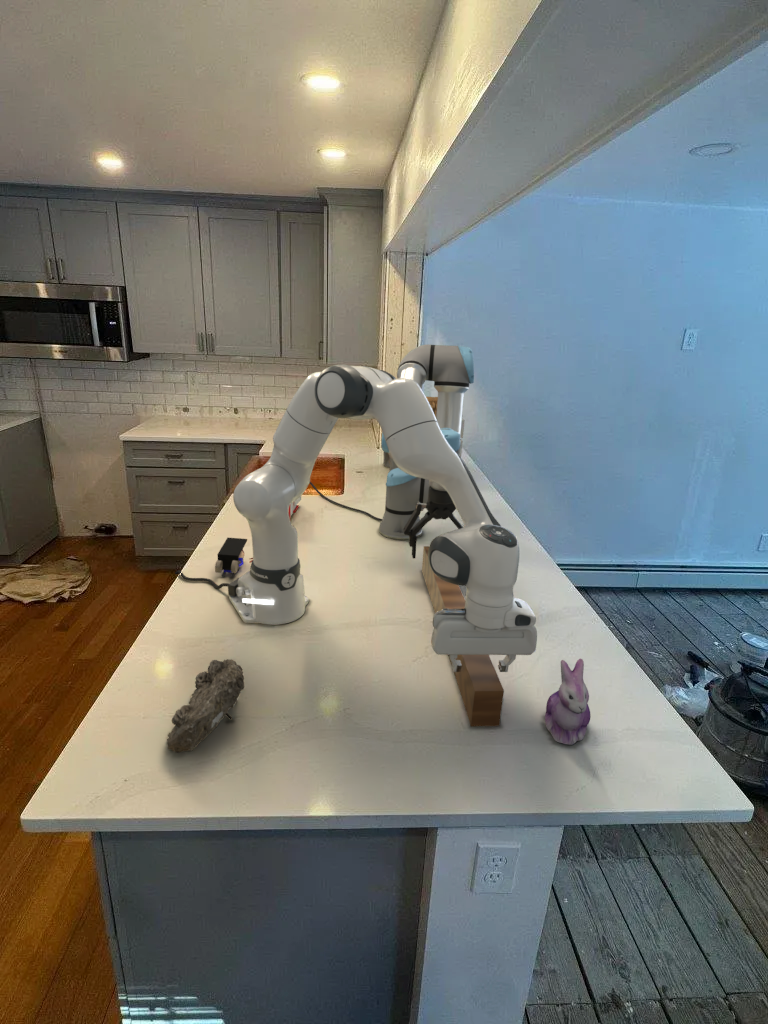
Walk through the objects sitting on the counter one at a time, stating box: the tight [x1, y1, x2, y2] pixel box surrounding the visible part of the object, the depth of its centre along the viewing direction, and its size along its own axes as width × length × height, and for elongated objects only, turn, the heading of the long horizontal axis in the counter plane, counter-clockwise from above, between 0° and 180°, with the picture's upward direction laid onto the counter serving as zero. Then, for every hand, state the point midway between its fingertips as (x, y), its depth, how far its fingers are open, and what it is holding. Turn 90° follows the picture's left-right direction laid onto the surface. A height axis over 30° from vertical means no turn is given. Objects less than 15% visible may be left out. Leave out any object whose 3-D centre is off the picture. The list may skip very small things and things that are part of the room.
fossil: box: [166, 658, 245, 754], centre depth 106 cm, size 22×10×15 cm
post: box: [421, 545, 505, 727], centre depth 139 cm, size 68×6×8 cm, turn 4°
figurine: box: [544, 658, 592, 746], centre depth 106 cm, size 9×10×15 cm
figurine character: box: [214, 537, 248, 578], centre depth 166 cm, size 7×8×15 cm
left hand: (479, 670), depth 113 cm, fingers open, 8 cm apart
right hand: (436, 556), depth 164 cm, fingers open, 13 cm apart
